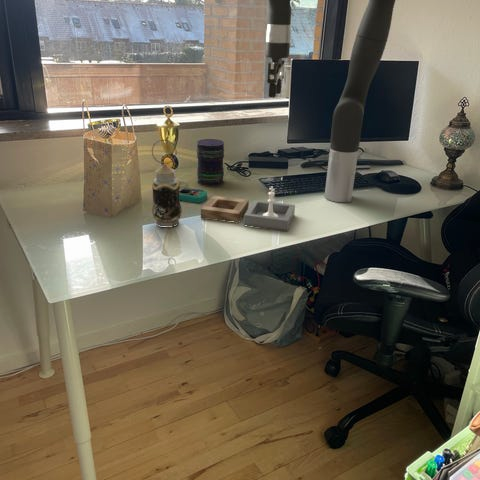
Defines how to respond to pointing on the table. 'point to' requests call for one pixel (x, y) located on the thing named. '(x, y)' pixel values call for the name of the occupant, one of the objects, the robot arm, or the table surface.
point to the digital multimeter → (192, 195)
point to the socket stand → (225, 208)
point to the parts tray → (274, 223)
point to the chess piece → (271, 204)
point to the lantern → (166, 195)
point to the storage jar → (210, 162)
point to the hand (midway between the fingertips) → (274, 95)
